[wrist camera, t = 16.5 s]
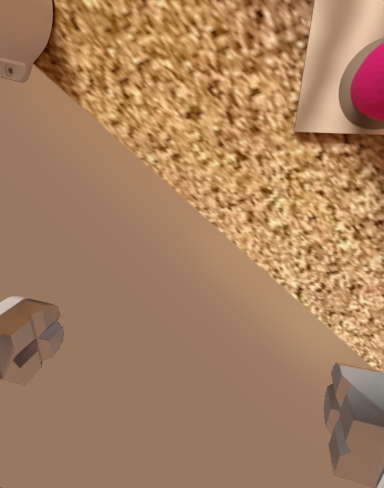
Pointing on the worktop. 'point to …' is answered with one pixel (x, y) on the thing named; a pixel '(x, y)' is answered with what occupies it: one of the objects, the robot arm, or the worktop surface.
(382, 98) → the pepper mill
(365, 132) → the condiment board
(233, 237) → the worktop surface
